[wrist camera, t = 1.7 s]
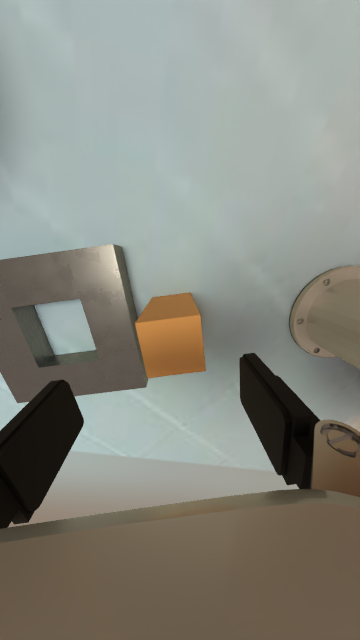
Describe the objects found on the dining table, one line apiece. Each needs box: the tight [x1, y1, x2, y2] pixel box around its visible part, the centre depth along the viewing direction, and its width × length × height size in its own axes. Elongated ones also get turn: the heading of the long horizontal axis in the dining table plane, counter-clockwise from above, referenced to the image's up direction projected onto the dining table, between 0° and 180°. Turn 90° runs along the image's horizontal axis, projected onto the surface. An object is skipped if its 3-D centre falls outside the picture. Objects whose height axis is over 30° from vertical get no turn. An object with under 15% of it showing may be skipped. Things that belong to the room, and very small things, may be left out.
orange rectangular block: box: [135, 293, 206, 378], centre depth 19 cm, size 5×5×10 cm
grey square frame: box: [0, 244, 148, 403], centre depth 22 cm, size 18×18×3 cm
